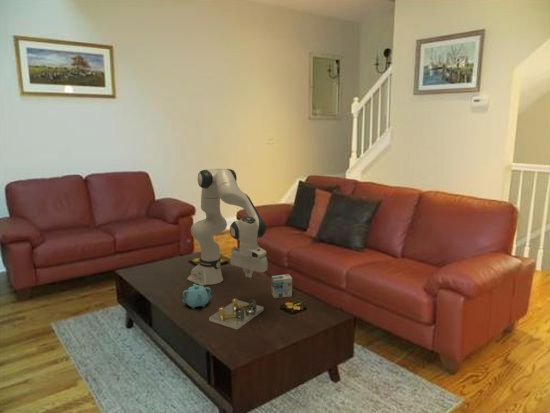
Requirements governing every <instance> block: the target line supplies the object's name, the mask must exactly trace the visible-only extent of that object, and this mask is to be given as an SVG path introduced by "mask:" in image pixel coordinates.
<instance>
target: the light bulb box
mask: <svg viewBox="0 0 550 413" xmlns="http://www.w3.org/2000/svg"><path fill="white" fill-rule="evenodd" d="M271 295H272V297H273V299H279V298H288V297H289V298H290V297H292V296H293V277H292V276H291V275H290V274H289V273H287V274H279V275H271Z"/></svg>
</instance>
